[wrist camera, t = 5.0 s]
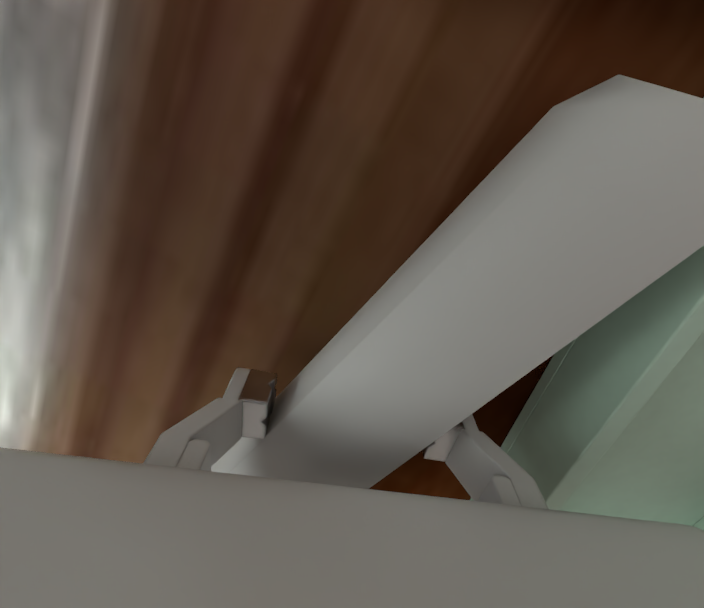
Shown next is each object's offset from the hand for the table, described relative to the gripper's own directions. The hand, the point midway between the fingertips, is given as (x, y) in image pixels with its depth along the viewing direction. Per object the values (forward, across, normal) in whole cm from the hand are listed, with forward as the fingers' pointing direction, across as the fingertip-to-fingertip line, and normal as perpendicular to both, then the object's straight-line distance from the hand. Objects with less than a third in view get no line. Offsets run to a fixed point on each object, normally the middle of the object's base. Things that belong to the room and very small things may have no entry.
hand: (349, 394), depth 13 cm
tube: (+2, 0, 0) cm, 2 cm away
